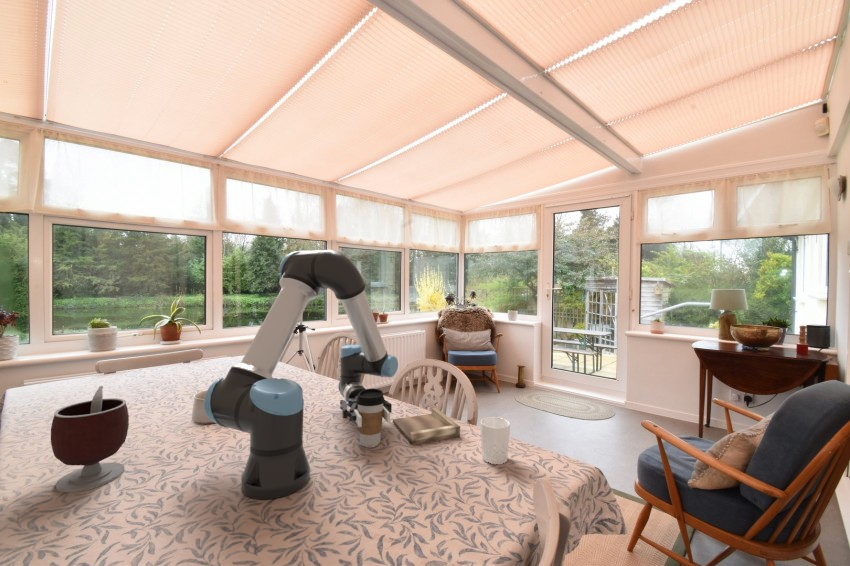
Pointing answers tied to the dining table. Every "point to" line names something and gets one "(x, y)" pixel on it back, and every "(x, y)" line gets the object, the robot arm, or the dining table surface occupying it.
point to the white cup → (495, 439)
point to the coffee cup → (370, 416)
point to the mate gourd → (89, 441)
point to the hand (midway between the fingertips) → (374, 420)
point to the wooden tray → (427, 427)
